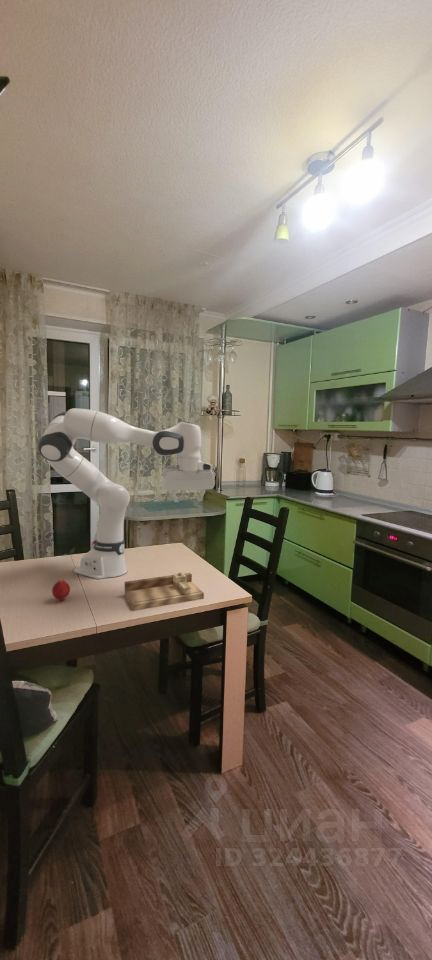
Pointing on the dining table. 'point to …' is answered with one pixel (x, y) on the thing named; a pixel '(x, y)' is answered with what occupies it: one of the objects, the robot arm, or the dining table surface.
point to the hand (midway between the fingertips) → (188, 501)
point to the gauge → (181, 583)
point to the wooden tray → (158, 592)
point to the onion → (60, 589)
